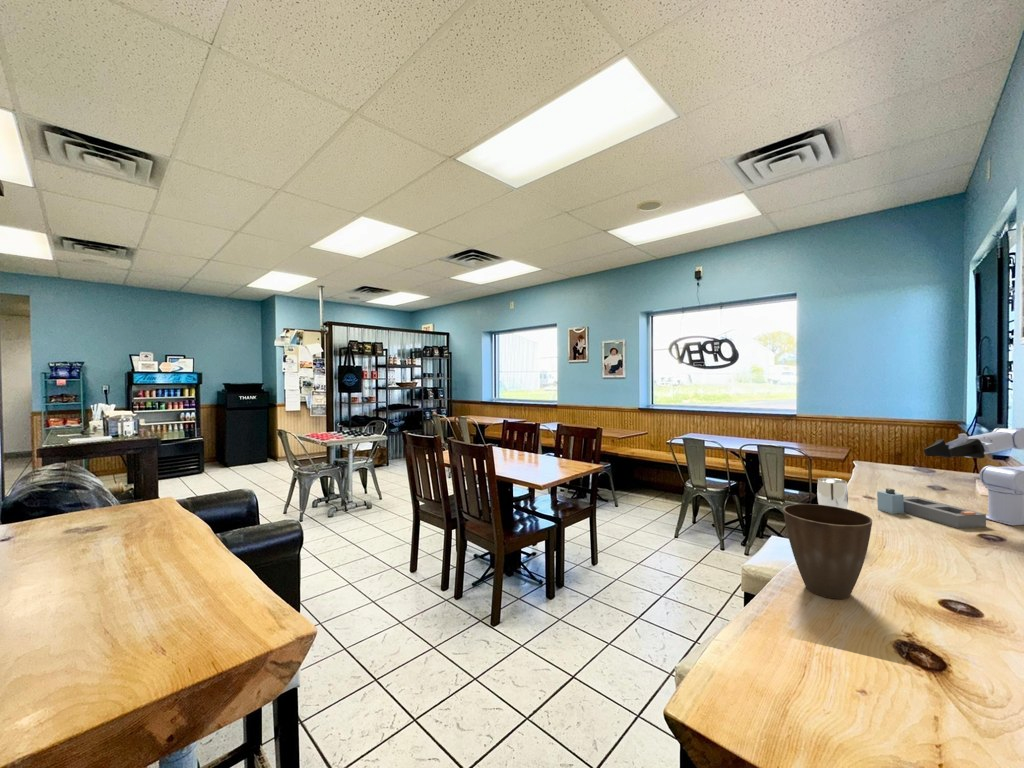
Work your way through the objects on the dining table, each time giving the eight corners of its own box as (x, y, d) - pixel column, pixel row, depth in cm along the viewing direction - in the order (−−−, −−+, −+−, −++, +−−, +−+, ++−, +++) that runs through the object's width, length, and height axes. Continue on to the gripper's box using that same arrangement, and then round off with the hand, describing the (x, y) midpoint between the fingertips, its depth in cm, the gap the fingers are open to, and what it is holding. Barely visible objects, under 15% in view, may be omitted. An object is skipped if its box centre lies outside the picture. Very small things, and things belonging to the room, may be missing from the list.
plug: (888, 508, 142) (888, 487, 142) (903, 513, 137) (903, 490, 137) (877, 509, 142) (877, 487, 142) (892, 514, 137) (892, 491, 137)
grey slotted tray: (914, 506, 144) (914, 494, 144) (986, 526, 124) (985, 512, 124) (889, 508, 143) (889, 495, 143) (958, 528, 123) (957, 513, 123)
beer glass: (838, 529, 124) (837, 477, 124) (855, 538, 117) (853, 483, 117) (812, 529, 125) (811, 477, 125) (827, 538, 118) (826, 483, 118)
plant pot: (783, 569, 100) (782, 500, 100) (866, 583, 92) (864, 508, 92) (785, 597, 87) (784, 518, 87) (881, 616, 79) (880, 530, 79)
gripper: (952, 431, 135) (911, 439, 135) (1004, 429, 121) (958, 438, 121) (960, 454, 134) (918, 462, 134) (1013, 454, 120) (966, 463, 120)
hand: (937, 452), depth 127 cm, fingers open, 7 cm apart
